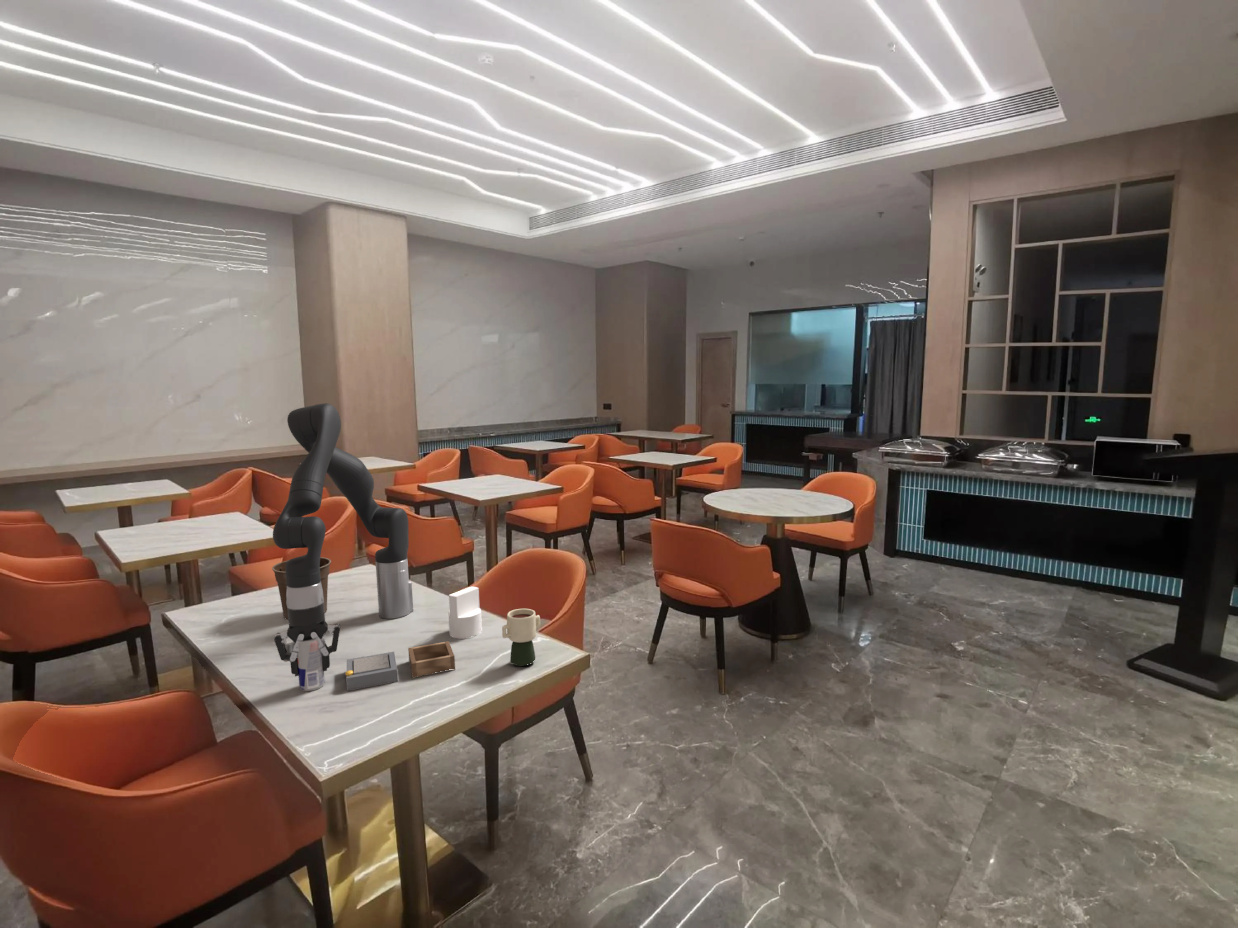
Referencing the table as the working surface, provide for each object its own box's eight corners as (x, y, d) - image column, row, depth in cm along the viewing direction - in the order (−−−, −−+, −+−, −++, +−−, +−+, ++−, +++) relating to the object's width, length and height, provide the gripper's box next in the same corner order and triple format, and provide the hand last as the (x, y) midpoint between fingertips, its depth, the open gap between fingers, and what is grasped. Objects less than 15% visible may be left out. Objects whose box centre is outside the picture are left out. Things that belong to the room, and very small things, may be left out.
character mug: (533, 652, 161) (531, 604, 160) (549, 661, 156) (547, 611, 154) (496, 665, 154) (494, 614, 152) (511, 674, 149) (509, 622, 147)
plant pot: (343, 612, 193) (340, 562, 191) (289, 628, 181) (284, 574, 179) (321, 601, 203) (317, 553, 201) (268, 615, 191) (263, 565, 190)
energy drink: (305, 681, 147) (301, 633, 146) (328, 680, 147) (324, 631, 146) (295, 692, 142) (291, 642, 140) (319, 690, 142) (315, 641, 141)
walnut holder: (449, 653, 161) (448, 641, 161) (455, 669, 152) (454, 655, 152) (409, 661, 157) (408, 647, 157) (412, 677, 148) (411, 663, 148)
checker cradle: (394, 662, 156) (394, 649, 156) (397, 681, 146) (396, 666, 146) (346, 671, 152) (345, 657, 152) (346, 690, 142) (345, 675, 142)
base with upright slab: (465, 640, 169) (463, 598, 168) (442, 634, 174) (440, 593, 173) (488, 629, 177) (487, 589, 176) (466, 623, 182) (464, 584, 180)
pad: (388, 659, 154) (387, 653, 154) (389, 672, 147) (389, 666, 147) (354, 665, 151) (353, 659, 151) (354, 678, 144) (353, 672, 144)
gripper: (339, 593, 148) (344, 660, 150) (272, 601, 143) (278, 671, 145) (339, 602, 142) (344, 672, 144) (267, 612, 136) (274, 685, 138)
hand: (311, 671), depth 144 cm, fingers closed on energy drink, 5 cm apart
